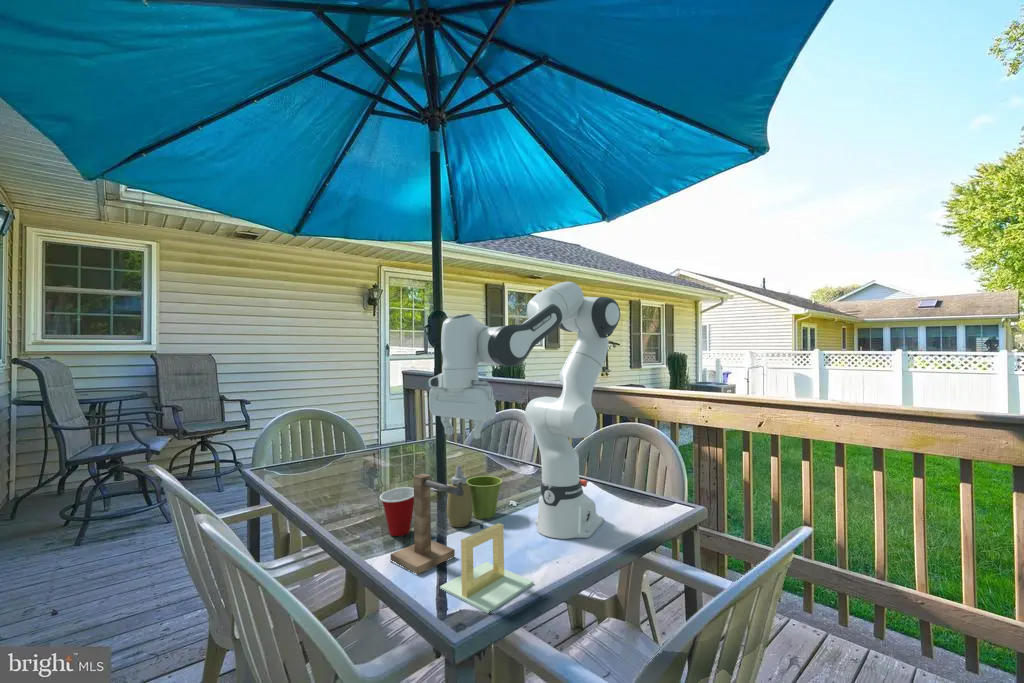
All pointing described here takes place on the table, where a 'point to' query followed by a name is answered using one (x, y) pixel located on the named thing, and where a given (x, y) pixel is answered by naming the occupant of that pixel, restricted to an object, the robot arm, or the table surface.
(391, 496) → the plastic cup
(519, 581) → the sage mat
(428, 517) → the hook stand
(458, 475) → the squeeze bottle
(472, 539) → the yellow picture frame
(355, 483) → the table surface
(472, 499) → the plant pot
